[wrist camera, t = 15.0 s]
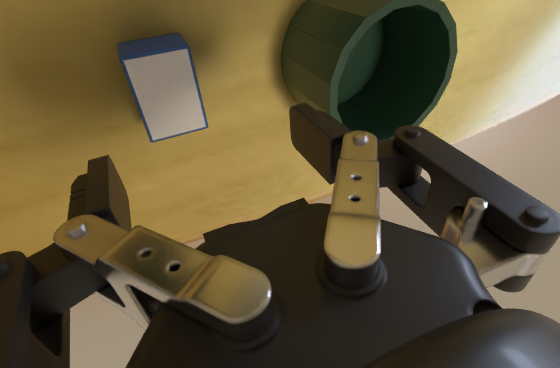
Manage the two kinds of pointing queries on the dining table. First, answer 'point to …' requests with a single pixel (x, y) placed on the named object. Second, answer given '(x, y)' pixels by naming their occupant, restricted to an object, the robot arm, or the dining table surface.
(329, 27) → the pot
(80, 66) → the dining table surface
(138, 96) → the cream cheese
